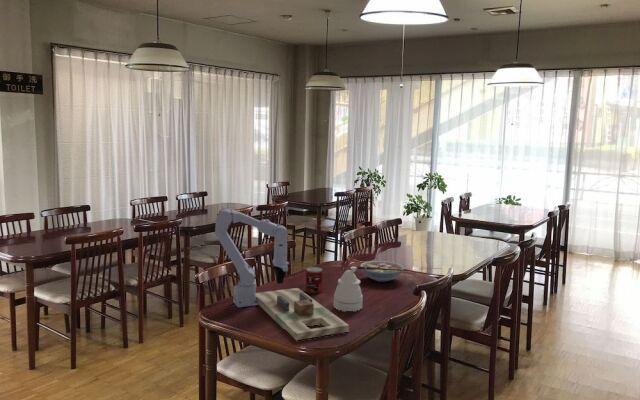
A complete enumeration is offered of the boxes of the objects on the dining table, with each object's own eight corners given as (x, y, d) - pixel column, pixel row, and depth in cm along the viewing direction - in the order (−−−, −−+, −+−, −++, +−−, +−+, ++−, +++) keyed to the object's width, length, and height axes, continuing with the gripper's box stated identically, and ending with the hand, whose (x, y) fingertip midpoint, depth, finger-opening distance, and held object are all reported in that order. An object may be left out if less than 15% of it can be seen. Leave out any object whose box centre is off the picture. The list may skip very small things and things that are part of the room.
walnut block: (299, 316, 208) (300, 305, 208) (294, 311, 214) (294, 301, 213) (313, 314, 211) (313, 303, 210) (307, 309, 216) (307, 299, 215)
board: (296, 341, 191) (296, 324, 190) (253, 299, 236) (253, 285, 235) (348, 332, 201) (349, 316, 200) (297, 293, 245) (297, 280, 245)
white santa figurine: (360, 301, 237) (362, 263, 234) (363, 311, 224) (365, 271, 222) (332, 301, 236) (333, 263, 234) (334, 311, 224) (335, 271, 221)
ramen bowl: (404, 275, 282) (404, 260, 280) (406, 287, 259) (407, 272, 258) (358, 272, 284) (358, 258, 283) (356, 285, 261) (357, 269, 260)
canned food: (302, 292, 248) (303, 269, 247) (310, 287, 256) (311, 266, 254) (316, 294, 245) (317, 272, 243) (324, 290, 252) (325, 268, 250)
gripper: (294, 256, 224) (294, 286, 226) (283, 248, 237) (282, 277, 239) (279, 257, 221) (278, 288, 223) (268, 249, 234) (268, 279, 236)
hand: (279, 282), depth 231 cm, fingers closed
